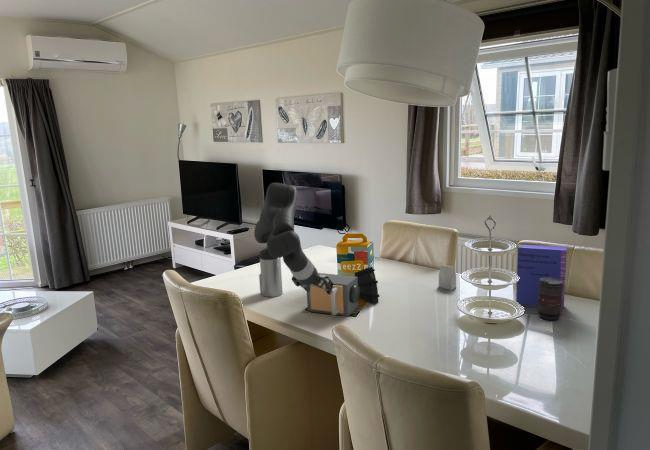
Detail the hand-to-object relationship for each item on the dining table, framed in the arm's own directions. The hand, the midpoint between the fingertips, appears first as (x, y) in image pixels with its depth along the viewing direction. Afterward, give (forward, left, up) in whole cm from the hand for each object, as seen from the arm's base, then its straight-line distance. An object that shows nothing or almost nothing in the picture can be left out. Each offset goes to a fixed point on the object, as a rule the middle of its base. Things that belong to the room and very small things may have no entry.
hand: (319, 291), depth 185 cm
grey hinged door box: (-5, +22, -15) cm, 27 cm away
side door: (-5, +13, -14) cm, 20 cm away
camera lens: (+76, +39, -16) cm, 87 cm away
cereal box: (+72, +53, -16) cm, 91 cm away
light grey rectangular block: (+33, +63, -16) cm, 73 cm away
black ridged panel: (+4, +37, -16) cm, 40 cm away
